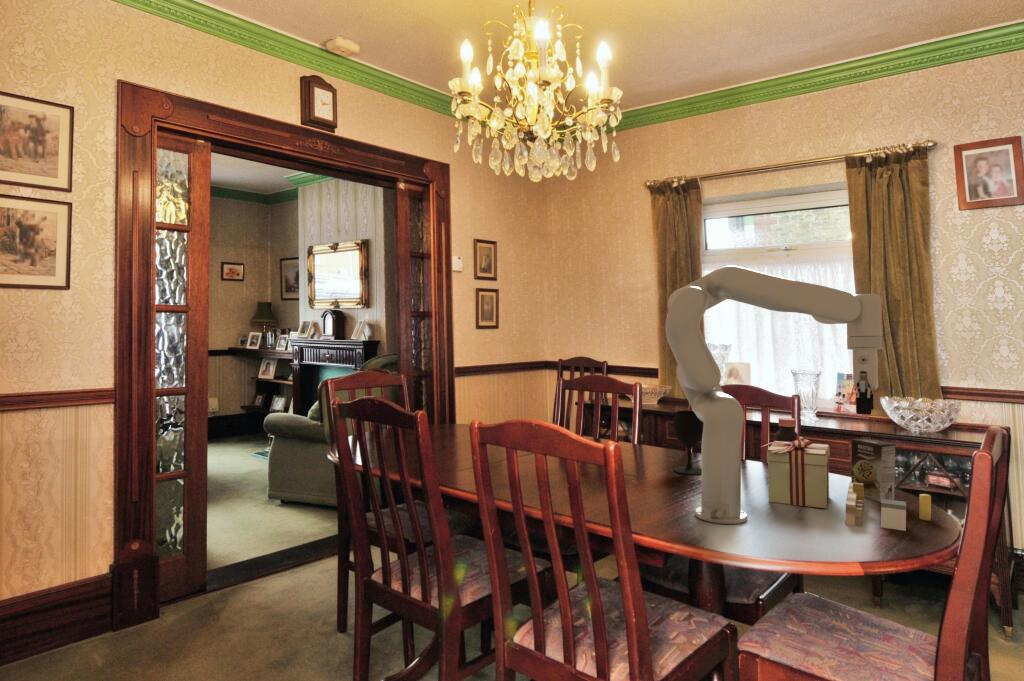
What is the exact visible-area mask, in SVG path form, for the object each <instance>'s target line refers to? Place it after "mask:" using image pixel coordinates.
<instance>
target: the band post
mask: <svg viewBox="0 0 1024 681" xmlns="http://www.w3.org/2000/svg"><path fill="white" fill-rule="evenodd" d="M918 505H919V508H918V509H919V514H918V516H919V517H918V519H920V520H924V521H931V520H932V496H931V495H930V494H927V493H919V504H918Z"/></svg>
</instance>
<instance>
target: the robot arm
mask: <svg viewBox="0 0 1024 681" xmlns="http://www.w3.org/2000/svg"><path fill="white" fill-rule="evenodd" d="M726 300H732V301H735V302H739V303H743V304H746V305H750V306H754V307H757V308H762V309H764V310H769V311H774V312H780V313H797V314H803V315H809V316H811V317H812V318H813V319H814V320H815V321H816V322H818V323H820V324H823V325H838V324H840V325H842V324H843V325H844V324H845V325H846V336H847V337H846V347H847V348H846V349H847V350H852V375H853V378H852V379H853V387H854V388H855V389H856V398H855V413H856V414H857V415H869V416H870V415H872V411H873V410H874V408H875V407H874V393H873V390H874V391H875V390H877V389H878V388H879V359H878V350H883V331H882V330H883V329H882V328H883V327H882V325H883V324H882V321H883V320H882V318H883V317H882V312H883V311H882V309H883V308H882V298H881V296H880V295H879V294H877V293H862V294H861V293H859V294H852V293H850V292H847V291H845V290H840V289H836V288H832V287H829V286H824V285H820V284H815V283H809V282H804V281H800V280H795V279H792V278H791V279H790V278H786V277H785V278H784V277H781V276H776V275H772V274H768V273H765V272H762V271H761V272H760V271H757V270H754V269H749V268H746V267H743V266H737V265H730V264H729V265H725V266H722V267H719V268H716V269H715V270H713V271H711V272H709V273H707V274H706V275H704V276H702V277H700V278H698V279H696V280H694V281H692V282H690V283H687V284H686V285H684V286H682V287H681V288H678V289H676V290H674V291H673V292H672V293H671V294H670V296H669V298H668V300H667V308H668V312H667V314H666V319H665V326H664V327H665V328H664V329H665V337H666V339H667V343H668V345H669V347H670V350H671V352H672V354H673V357H674V359H675V361H676V363H677V365H676V366H677V367H676V377H677V380H678V383H679V385H680V387H681V389H682V391H683V394H684V395H685V397H686V399H687V402H688V403H689V405H690V407H691V409H692V411H694V413H695V414H696V416H697V417H698V419H699V420H700V421H702V422H703V423H704V425H703V434H702V440H701V450H700V451H701V453H700V454H701V469H702V474H701V479H700V480H701V482H700V484H701V485H700V486H701V488H700V489H701V492H700V493H701V494H700V495H701V496H700V498H701V499H700V500H701V502H700V506H698V507H696V508H695V509H694V513H695V514H694V515H695V517H696V518H698V519H700V520H703V521H706V522H710V523H715V524H721V525H735V524H738V525H739V524H742V523H745V522H746V521H747V520H748V514H747V513H746V512H745V511H744V510H742V507H741V504H742V503H741V502H742V500H741V499H742V498H741V497H742V491H741V490H742V489H741V488H742V486H741V485H742V435H743V431H744V430H743V428H744V422H745V421H744V420H745V415H744V410H743V406H742V404H741V403H740V402H739V401H738V399H737V398H735V397H734V396H732V395H730V394H728V393H725V392H724V390H723V388H722V386H721V384H720V383H721V379H722V373H721V369H720V366H719V365H718V363H717V362H716V360H715V358H714V357H713V354H712V353H711V350H710V348H709V347H708V345H707V342H706V341H705V337H704V335H703V333H702V330H701V321H702V318H703V316H704V314H705V313H706V311H707V310H709V309H711V308H713V307H715V306H717V305H719V304H720V303H722V302H724V301H726Z"/></svg>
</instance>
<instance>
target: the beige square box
mask: <svg viewBox="0 0 1024 681" xmlns="http://www.w3.org/2000/svg"><path fill="white" fill-rule="evenodd" d="M880 507H881V508H880V527H881V528H883V529H890V530H897V531H898V530H899V531H903V532H904V531H905V532H906V531H907V530H906V529H907V502H906V501H905V500H904V501H902V500H895V499H894V500H888V499H881V502H880Z"/></svg>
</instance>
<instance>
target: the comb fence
mask: <svg viewBox="0 0 1024 681" xmlns="http://www.w3.org/2000/svg"><path fill="white" fill-rule="evenodd" d="M864 505H865V498H864V488H863V483H854V482H853V483H851V482H849V483H848V490H847V495H846V501H845V520H844V521H845V522H844V523H845V525H847V526H848V525H849V526H858V527H862V526H863V516H864V513H863V512H864Z"/></svg>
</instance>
